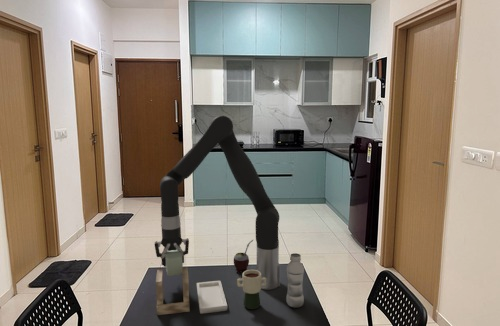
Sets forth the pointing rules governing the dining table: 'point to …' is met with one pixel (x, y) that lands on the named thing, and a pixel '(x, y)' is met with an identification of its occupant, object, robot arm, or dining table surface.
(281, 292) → the dining table surface
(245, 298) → the character mug
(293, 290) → the plastic bottle
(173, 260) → the green block with tab
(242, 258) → the mate gourd
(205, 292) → the tray
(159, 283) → the bay
